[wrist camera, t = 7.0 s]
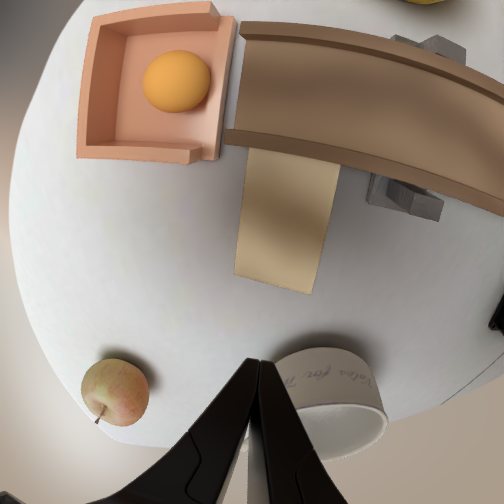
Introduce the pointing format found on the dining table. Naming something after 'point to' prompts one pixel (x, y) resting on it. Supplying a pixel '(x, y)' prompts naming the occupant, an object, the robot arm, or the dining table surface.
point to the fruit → (115, 392)
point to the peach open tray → (131, 90)
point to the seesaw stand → (400, 192)
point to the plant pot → (424, 1)
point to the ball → (176, 81)
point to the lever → (351, 135)
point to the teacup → (333, 400)
